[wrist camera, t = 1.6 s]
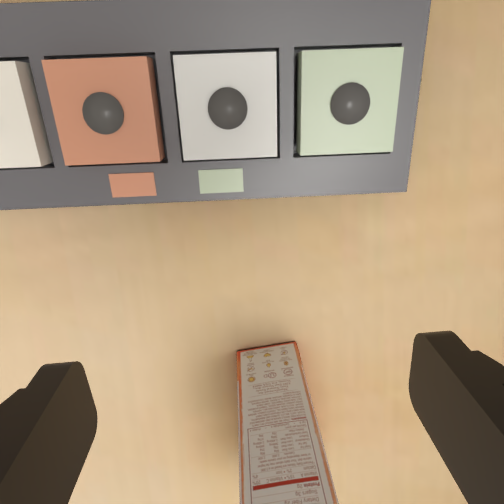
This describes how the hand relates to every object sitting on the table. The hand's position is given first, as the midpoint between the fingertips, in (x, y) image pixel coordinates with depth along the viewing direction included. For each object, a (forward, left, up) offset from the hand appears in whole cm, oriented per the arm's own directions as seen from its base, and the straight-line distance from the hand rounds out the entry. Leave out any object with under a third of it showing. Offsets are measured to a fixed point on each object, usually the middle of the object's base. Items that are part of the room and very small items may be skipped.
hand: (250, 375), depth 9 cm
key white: (-5, -1, -19) cm, 20 cm away
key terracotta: (-5, -8, -19) cm, 21 cm away
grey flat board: (-5, -4, -21) cm, 22 cm away
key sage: (-5, +7, -19) cm, 21 cm away
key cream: (-5, -16, -19) cm, 25 cm away
